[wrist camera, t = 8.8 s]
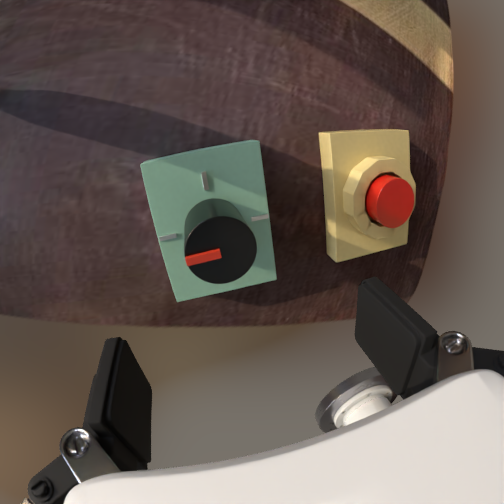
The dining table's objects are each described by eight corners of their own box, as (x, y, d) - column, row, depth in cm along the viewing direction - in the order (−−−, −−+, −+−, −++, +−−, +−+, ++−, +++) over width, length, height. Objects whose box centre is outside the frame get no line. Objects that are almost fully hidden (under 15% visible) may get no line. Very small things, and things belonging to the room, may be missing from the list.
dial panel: (269, 267, 28) (277, 280, 26) (177, 287, 27) (177, 303, 24) (252, 139, 23) (259, 140, 21) (144, 161, 22) (139, 164, 19)
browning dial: (237, 192, 22) (252, 210, 17) (247, 246, 24) (263, 277, 19) (178, 205, 21) (175, 228, 17) (192, 259, 23) (194, 293, 19)
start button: (401, 217, 25) (413, 223, 23) (365, 225, 24) (376, 232, 23) (402, 172, 23) (415, 176, 21) (364, 177, 22) (376, 181, 21)
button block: (395, 236, 30) (417, 250, 26) (326, 253, 29) (344, 271, 25) (395, 129, 25) (421, 131, 21) (318, 132, 24) (339, 133, 20)
